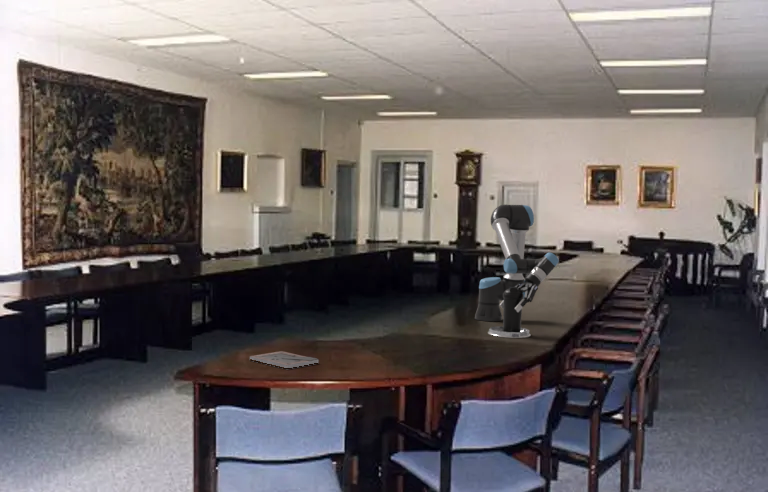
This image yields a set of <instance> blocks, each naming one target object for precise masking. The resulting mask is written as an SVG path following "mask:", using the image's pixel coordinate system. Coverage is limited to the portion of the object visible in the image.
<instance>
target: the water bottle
mask: <svg viewBox="0 0 768 492" xmlns="http://www.w3.org/2000/svg"><path fill="white" fill-rule="evenodd" d="M503 298H504V301H503V308H502V310H503V311H502V312H503V313H502V314H503V315H502V323H503V325H502V326H503V332H520V331H521V328H522V316H523V315H522V314H523V308H522V309H521V310H520V311H519V312H517V311H516V310H515V309H514V308H515V307H516V306H517V305H518V304H519V303H520V301H521V300H522V299H523V298H524V294H523V292H522V291H521V290H519V289H518V287H510V289H507V290H505V291H504V293H503Z"/></svg>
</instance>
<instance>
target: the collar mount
mask: <svg viewBox="0 0 768 492" xmlns="http://www.w3.org/2000/svg"><path fill="white" fill-rule="evenodd" d="M487 334H488V335H490V336H492V335H493V336H492V337H497V336H498V337H499V338H506V339H507V338H509V339H524V338H525V339H526V338H530V337H531V333H530V329H528V328H525V327H521V331H520V332H503V325H502V326H501V325H500V326H499V325H498V326H491V327H490V328H489V329H488V331H487Z"/></svg>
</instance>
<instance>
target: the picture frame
mask: <svg viewBox="0 0 768 492" xmlns="http://www.w3.org/2000/svg"><path fill="white" fill-rule="evenodd" d="M250 359H252V360H256V361H260V362H263V363H267V364H272V365H276V366H280V367H284V368H292V369H294V368H293V367H297V368H300V367H299V366H302V367H305V366H304V365H308V366H310V365H309V364H313V365H315V364H314V363H318V364H319V358H316V357H312V356H305V355H300V354H295V353H291V352H287V351H282V350H281V351H275V352H268V353H262V354H256V355H254V354H253V355H250V356H249V360H250ZM267 364H266V365H267Z"/></svg>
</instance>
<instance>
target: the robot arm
mask: <svg viewBox="0 0 768 492" xmlns="http://www.w3.org/2000/svg"><path fill="white" fill-rule="evenodd" d="M534 216H535V215H534V212H533V209H532V207H531V206H529V205H525V204H501V205H499V206H497V207H496V208H494V209H493V211H492V213H491V216H490V225H491V228H492V229H493V230H494V231H495V233H496V236H497V239H498V242H499V245H500V247H501V250H502V253H503V255H504V258H505V259H504V262H503V270H504V272H505V274H504V275H503V278H502V279H501V277H497V276H495V277H494V276H492V277H485V278H482V279H480V281H479V285H478V305H477V309H476V312H475V314H474V319H475V320H477V321H483V322H501V321H503V315H502V314H503V313H502V309H503V301H504V298H503V293H504V291H505V290H507V289H510V287H518V289H519V290H521V291H522V292H523V294H524V298H523V299H522V300H521V301H520V303H519V304H518V305H517V306H516V307H515V308H514V309H515V310H516V311H517V312H519V311H520V310H521V309H522V310H523V308H524V307H525V306H526V305H527V303H532V302H533V299H534V297H535V295H536V293H537V291H538V289H539V286H540V285H541V283H542V282H543V281H545V279H546V278H547V277H548V276H549V274H550V273H551V272H552V271H553V270H554V269H555V268H556V267H557V265H558V264H559V262H560V260H559V257H558V256H557V255H556V254H554V253H552V252H547V253H546V254H545V255H543V257H542V258H533V259H532V258H524V257H525V256H524V255H525V244H526V233H527V232H528V231H529V229H530V228H531V227H532V226H533V225H534V222H535V217H534ZM523 274H527V275H526V277H524V275H523ZM500 307H501V308H500Z"/></svg>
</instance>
